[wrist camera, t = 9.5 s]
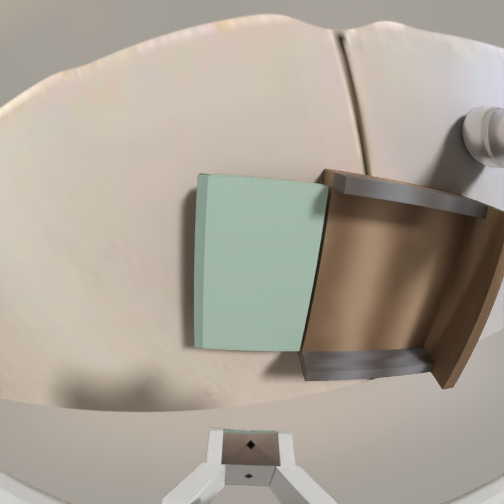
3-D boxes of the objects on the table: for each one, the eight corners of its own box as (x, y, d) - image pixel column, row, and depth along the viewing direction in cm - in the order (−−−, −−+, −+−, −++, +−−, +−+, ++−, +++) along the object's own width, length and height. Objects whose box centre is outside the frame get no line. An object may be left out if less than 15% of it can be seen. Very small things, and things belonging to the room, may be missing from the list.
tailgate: (328, 186, 23) (197, 175, 22) (299, 351, 28) (194, 347, 27) (323, 184, 24) (199, 173, 23) (296, 341, 29) (195, 338, 29)
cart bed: (461, 195, 26) (519, 217, 17) (419, 340, 32) (453, 387, 24) (324, 168, 25) (362, 182, 17) (296, 342, 31) (310, 404, 23)
